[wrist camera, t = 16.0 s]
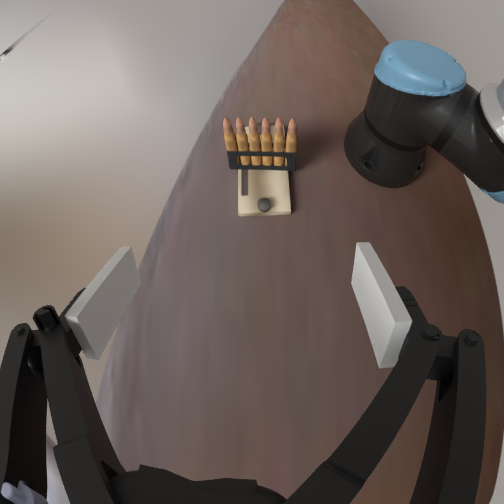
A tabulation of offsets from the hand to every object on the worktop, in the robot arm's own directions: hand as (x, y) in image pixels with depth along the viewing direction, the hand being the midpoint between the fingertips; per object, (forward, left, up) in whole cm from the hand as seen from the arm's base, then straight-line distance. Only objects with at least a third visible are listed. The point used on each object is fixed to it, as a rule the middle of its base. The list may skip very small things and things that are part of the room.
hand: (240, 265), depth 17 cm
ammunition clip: (-1, -23, -26) cm, 34 cm away
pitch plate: (-1, -23, -27) cm, 35 cm away
